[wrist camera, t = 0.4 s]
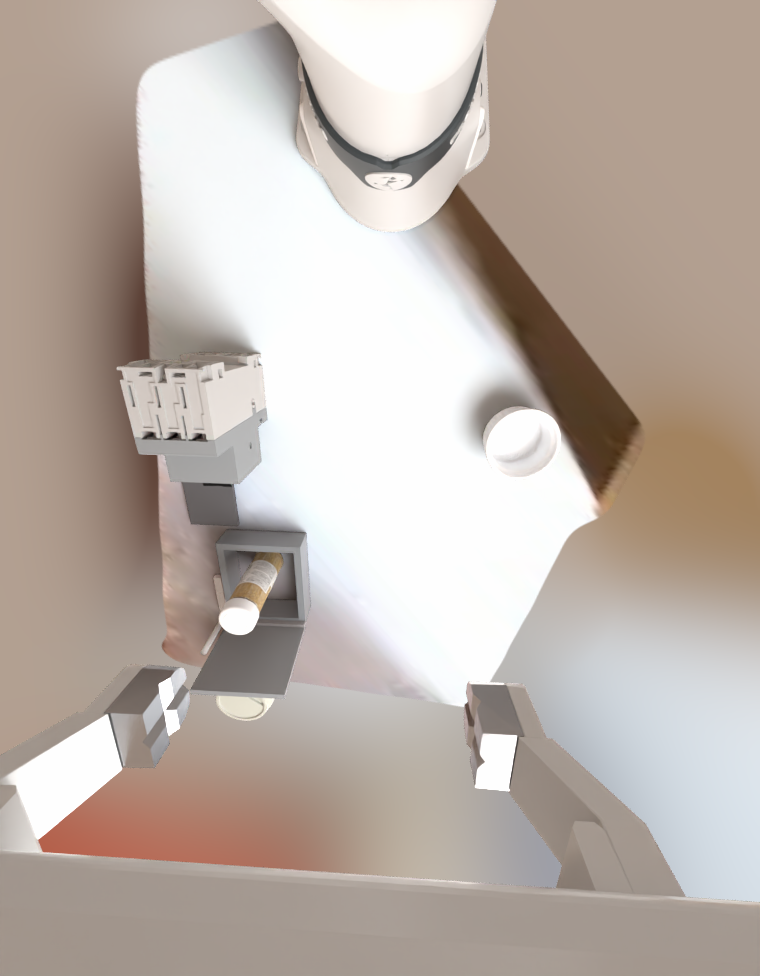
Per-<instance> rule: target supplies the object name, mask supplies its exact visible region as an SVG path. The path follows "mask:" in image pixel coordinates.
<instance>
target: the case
mask: <svg viewBox="0 0 760 976" xmlns="http://www.w3.org/2000/svg"><path fill="white" fill-rule="evenodd" d="M215 545H216V550H217V556H218V561H219V567H220V572H221V578H222V583H223V589H224V594H225V600H226V602H227V601H228V600H229V599H230V598H231V596H232V594H233V592H234V591H235V588H236V586H237V585H238V583H239V582H240V580H241V574H240V567H239V561H238V554H237V551H254V552H276V553H294V566H295V578H296V591H297V600H278V599H266V600H265V602H264V604H263V607H262V609H261V611H260V614H259V618H258V620H257V623H256V625H255V627H254V628H253V630H252V631H251V632H249V633H247V634H244V635H235V634H232V633H229V632H227V631H226V630H225V629H224V630H223V632H222V634H221V636H220V637H219V639H218V641H217V643H216V644H215V646H214V648H213V650H212V652H211V653H210V655H209V657H208V659H207V661H206V662H205V664H204V666H203V668H202V670H201V671H200V673H199V675H198V677H197V678H196V680H195V682H194V684H193V686H192V687H191V689H190V691H191V694H198V695H216V696H235V697H253V698H272V699H285V697H286V694H287V690H288V687H289V683H290V680H291V677H292V673H293V670H294V666H295V663H296V660H297V656H298V653H299V649H300V646H301V642H302V639H303V636H304V632H305V629H306V621H307V617H308V614H309V610H310V607H311V600H310V584H309V567H308V551H307V535H306V533H300V532H276V531H253V530H230V529H227V530H226V531H225V533H224V534H223V535H222V536H221V537H220V539H219V540H218V541H217V542H216V544H215ZM221 627H222V626H221V625H220V623H219V622H218V623H217V625H216V627H215V629H214V630H213V632H212V634H211V635H210V637H209V639H208V640H207V642H206V644H205V645H204V647H203V649H202V650H201V652H200V653H201V655H206V654H207V652H208V650H209V648H210V647H211V645H212V643H213V641H214V640H215V638H216V636H217V634H218V633H219V631H220V629H221Z"/></svg>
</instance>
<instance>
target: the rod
mask: <svg viewBox="0 0 760 976" xmlns="http://www.w3.org/2000/svg"><path fill="white" fill-rule="evenodd" d="M213 579H214V585H215V590H216V595H217V600H218V605H219V610H220V612H221V610H222V608H223V606H224V605H225V603H226V600H225V594H224V589H223V583H222V578H221V575H219V574H215V576H214V577H213Z"/></svg>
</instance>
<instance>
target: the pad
mask: <svg viewBox="0 0 760 976" xmlns="http://www.w3.org/2000/svg"><path fill="white" fill-rule="evenodd" d="M183 487H184V492H185V497H186V502H187V507H188V511H189V516H190V521H191V524H200V525H223V526H238V525H239V518H238V511H237V504H236V497H235V490H234V484H232V487H223V486H203V483H195V482H183Z"/></svg>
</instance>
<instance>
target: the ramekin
mask: <svg viewBox="0 0 760 976" xmlns="http://www.w3.org/2000/svg"><path fill="white" fill-rule="evenodd" d="M560 443H561V435H560V430H559V427H558V425H557V423H556V422H555V420H554V419H553V418H552V417H551V416H550V415H549V414H547V413H545V412H543V411H541V410H538V409H531V408H527V407H522V406H515V407H510V408H506V409H504V410H502V411H500V412H498V413H497V414H496V415H494V417H492V418H491V420H490V421H489V422H488V424H487V426H486V428H485V430H484V434H483V445H484V449H485V452H486V457H487V460H488V462H489V464H490V466H491V467H492V468H493V469H494V470H495V471H496V472H497V473H498V474H500V475H502V476H504V477H506V478H509V479H526V478H530V477H533V476H535V475H537V474H539V473H541V472H542V471H544V470H545V469H546V468H547V467H549V465H550V464H551V463H552V462H553V461H554V459H555V458H556V456H557V454H558V452H559V448H560Z"/></svg>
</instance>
